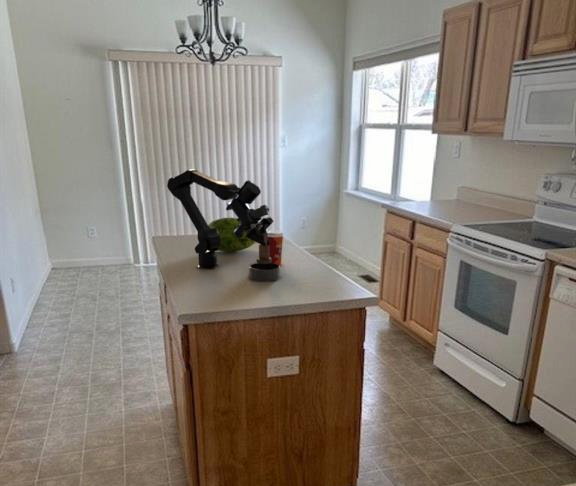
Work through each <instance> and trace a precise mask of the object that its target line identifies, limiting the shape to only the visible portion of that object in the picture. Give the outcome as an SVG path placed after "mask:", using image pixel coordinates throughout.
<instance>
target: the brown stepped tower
mask: <svg viewBox="0 0 576 486" xmlns="http://www.w3.org/2000/svg"><path fill="white" fill-rule="evenodd" d="M261 236H262V238H263V239H264V241H265V243H266V246H263V245H261V244H258V257H257V258H256V263H260V264H269V263H271V258H270V257H269V251H270V246H267V245H268V233H261Z"/></svg>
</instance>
